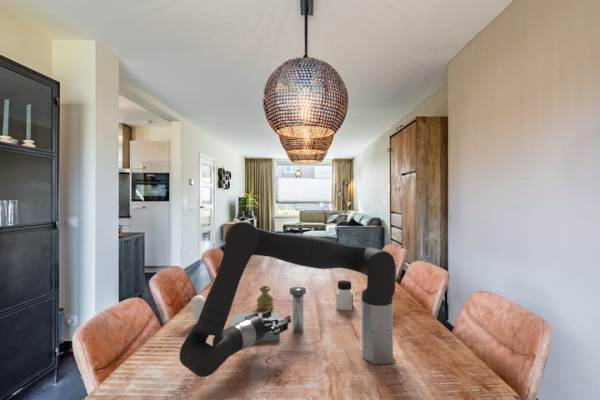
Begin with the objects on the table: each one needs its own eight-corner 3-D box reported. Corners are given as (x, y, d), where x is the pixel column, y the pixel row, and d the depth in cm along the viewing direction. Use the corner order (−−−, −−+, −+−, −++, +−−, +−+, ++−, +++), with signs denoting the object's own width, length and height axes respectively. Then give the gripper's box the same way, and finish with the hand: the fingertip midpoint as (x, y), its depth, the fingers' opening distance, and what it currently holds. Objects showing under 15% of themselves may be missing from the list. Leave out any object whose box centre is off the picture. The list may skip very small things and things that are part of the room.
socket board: (279, 340, 104) (279, 331, 104) (227, 342, 102) (227, 334, 102) (278, 319, 122) (278, 312, 122) (234, 321, 120) (234, 314, 120)
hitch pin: (306, 333, 109) (306, 291, 109) (290, 334, 108) (290, 291, 108) (305, 326, 115) (304, 286, 115) (289, 327, 114) (289, 287, 114)
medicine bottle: (352, 310, 131) (352, 283, 131) (336, 309, 133) (335, 282, 133) (352, 305, 138) (352, 279, 138) (337, 304, 140) (337, 278, 140)
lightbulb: (201, 318, 123) (200, 292, 123) (209, 322, 119) (209, 295, 119) (187, 323, 119) (187, 296, 119) (195, 327, 115) (195, 299, 115)
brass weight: (276, 307, 136) (276, 285, 136) (266, 312, 130) (265, 289, 130) (264, 304, 140) (264, 283, 140) (253, 309, 134) (253, 286, 134)
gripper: (263, 325, 85) (296, 308, 99) (229, 315, 94) (264, 300, 107) (264, 352, 85) (296, 331, 99) (229, 339, 93) (264, 321, 107)
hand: (280, 315), depth 103 cm, fingers open, 8 cm apart
